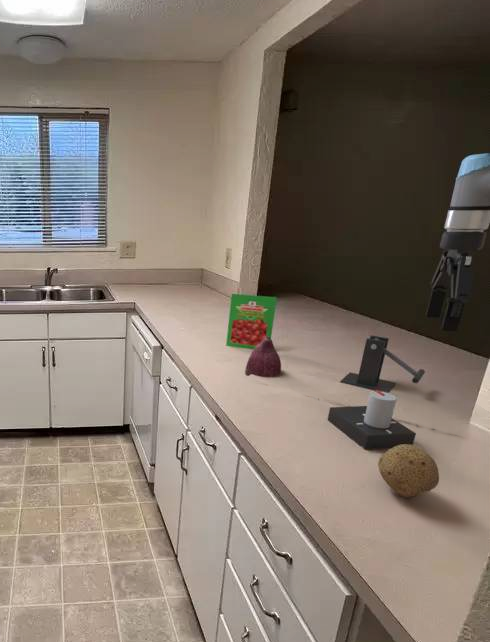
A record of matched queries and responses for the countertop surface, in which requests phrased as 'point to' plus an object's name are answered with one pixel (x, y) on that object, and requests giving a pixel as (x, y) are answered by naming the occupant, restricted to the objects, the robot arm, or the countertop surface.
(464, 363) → the countertop surface
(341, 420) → the timer panel
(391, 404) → the timer knob
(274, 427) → the countertop surface
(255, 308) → the tomato puree packet
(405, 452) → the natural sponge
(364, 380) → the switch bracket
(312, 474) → the countertop surface
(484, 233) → the robot arm
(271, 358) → the vegetable
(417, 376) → the switch lever
